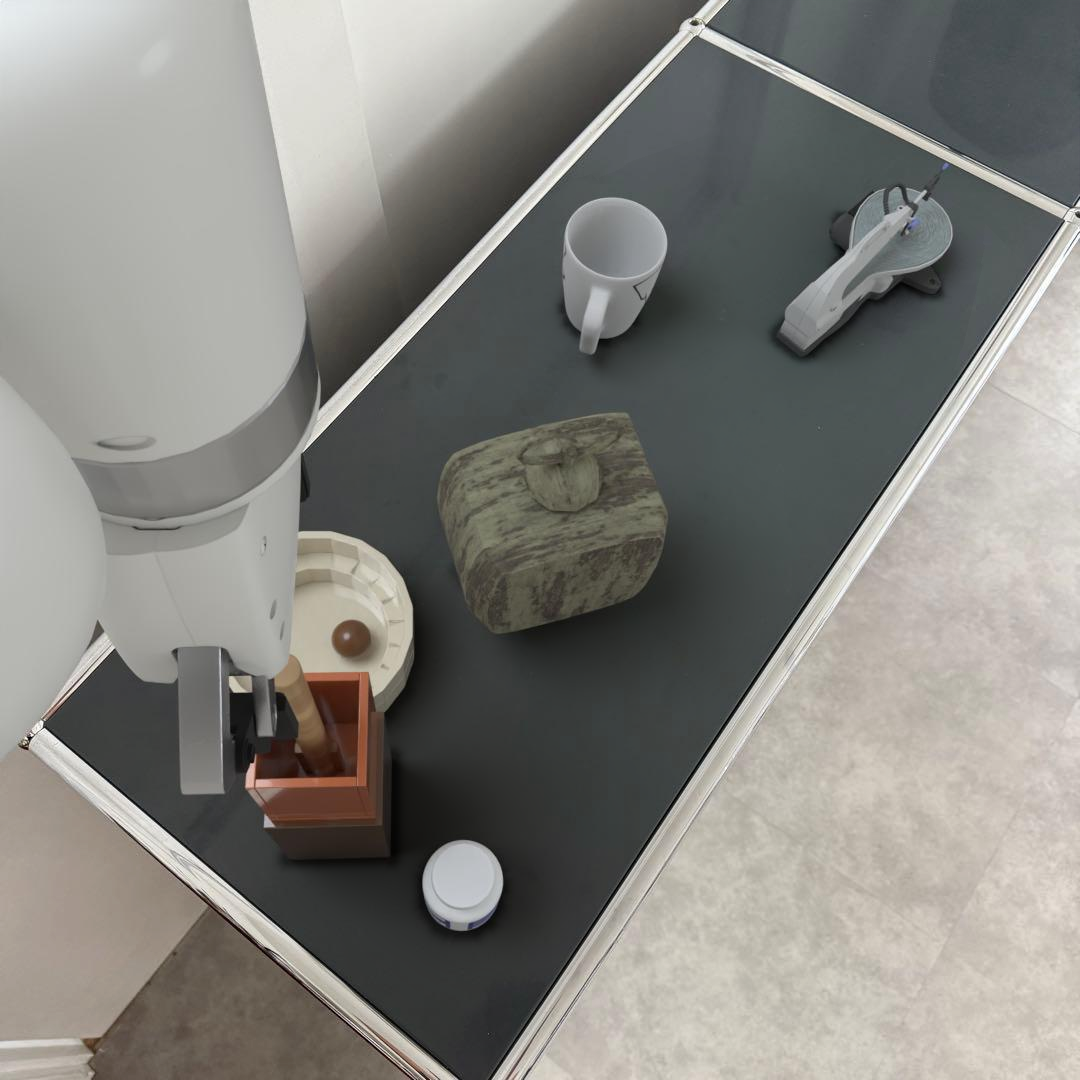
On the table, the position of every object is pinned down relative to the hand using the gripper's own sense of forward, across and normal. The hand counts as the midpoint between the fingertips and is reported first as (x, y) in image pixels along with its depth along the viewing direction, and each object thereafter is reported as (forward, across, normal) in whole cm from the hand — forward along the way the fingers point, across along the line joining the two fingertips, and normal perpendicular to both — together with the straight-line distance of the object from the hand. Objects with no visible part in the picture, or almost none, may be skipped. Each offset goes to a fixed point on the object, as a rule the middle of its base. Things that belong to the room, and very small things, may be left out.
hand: (263, 608), depth 42 cm
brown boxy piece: (+40, 0, 0) cm, 40 cm away
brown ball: (+38, -12, 0) cm, 40 cm away
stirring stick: (+27, 0, 0) cm, 27 cm away
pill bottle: (+40, +6, +8) cm, 42 cm away
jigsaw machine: (+41, -46, +45) cm, 76 cm away
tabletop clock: (+41, -17, +15) cm, 46 cm away
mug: (+41, -42, +21) cm, 62 cm away
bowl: (+40, -12, -2) cm, 42 cm away
